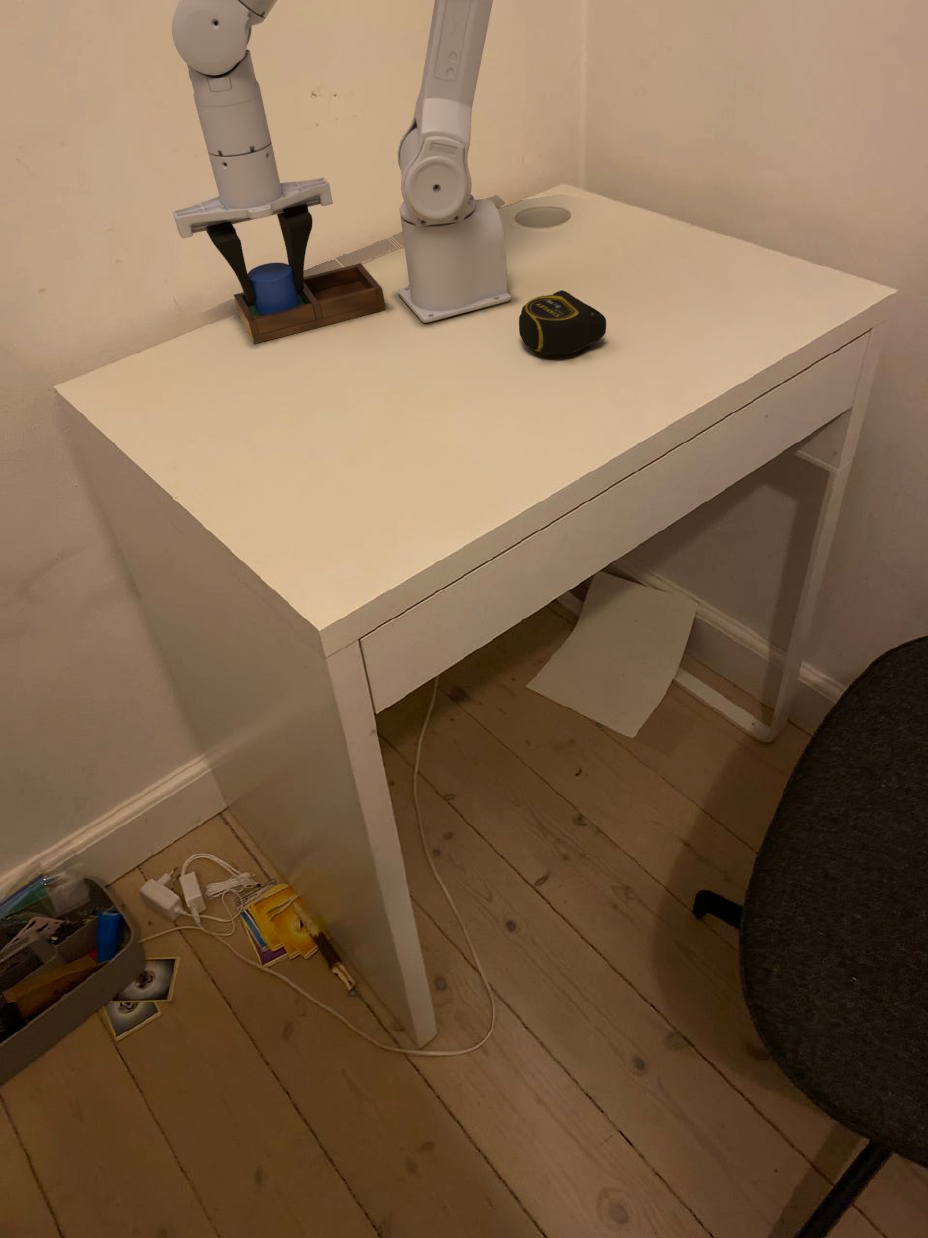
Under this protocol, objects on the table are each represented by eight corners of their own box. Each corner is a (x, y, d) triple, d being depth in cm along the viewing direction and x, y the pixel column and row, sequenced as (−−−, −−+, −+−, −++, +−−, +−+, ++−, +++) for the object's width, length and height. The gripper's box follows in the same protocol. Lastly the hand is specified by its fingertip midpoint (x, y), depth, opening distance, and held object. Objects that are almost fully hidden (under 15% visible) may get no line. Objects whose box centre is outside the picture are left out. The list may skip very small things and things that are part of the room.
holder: (364, 283, 99) (360, 262, 97) (385, 309, 94) (382, 287, 92) (239, 315, 96) (233, 294, 94) (254, 344, 91) (248, 322, 89)
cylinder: (293, 292, 95) (285, 258, 93) (304, 308, 92) (296, 274, 90) (251, 302, 94) (242, 268, 92) (261, 319, 91) (252, 285, 89)
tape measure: (609, 348, 84) (610, 309, 82) (545, 371, 82) (544, 331, 80) (568, 320, 89) (568, 282, 86) (506, 341, 87) (504, 303, 84)
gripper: (165, 175, 79) (209, 326, 88) (329, 140, 82) (355, 289, 91) (153, 153, 83) (196, 298, 93) (308, 121, 87) (335, 264, 96)
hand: (274, 292), depth 92 cm, fingers closed on cylinder, 4 cm apart
